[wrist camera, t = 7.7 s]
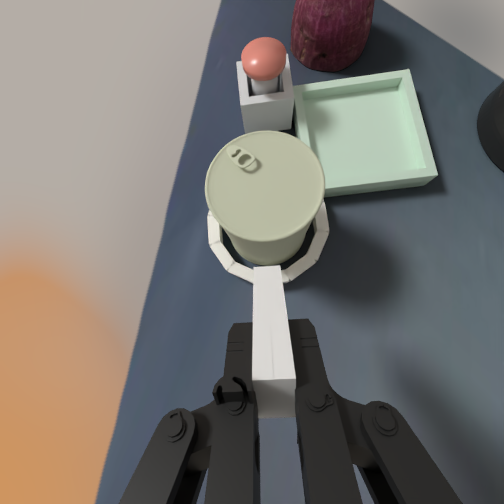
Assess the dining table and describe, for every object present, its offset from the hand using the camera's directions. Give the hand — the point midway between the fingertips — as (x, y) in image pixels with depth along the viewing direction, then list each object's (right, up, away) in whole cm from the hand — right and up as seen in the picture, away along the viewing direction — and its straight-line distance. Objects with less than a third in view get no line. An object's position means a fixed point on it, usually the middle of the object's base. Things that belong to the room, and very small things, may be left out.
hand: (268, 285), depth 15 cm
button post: (+1, +21, +18) cm, 28 cm away
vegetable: (+10, +31, +20) cm, 38 cm away
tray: (+12, +16, +17) cm, 26 cm away
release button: (+1, +21, +17) cm, 27 cm away
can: (+1, +5, +15) cm, 16 cm away
